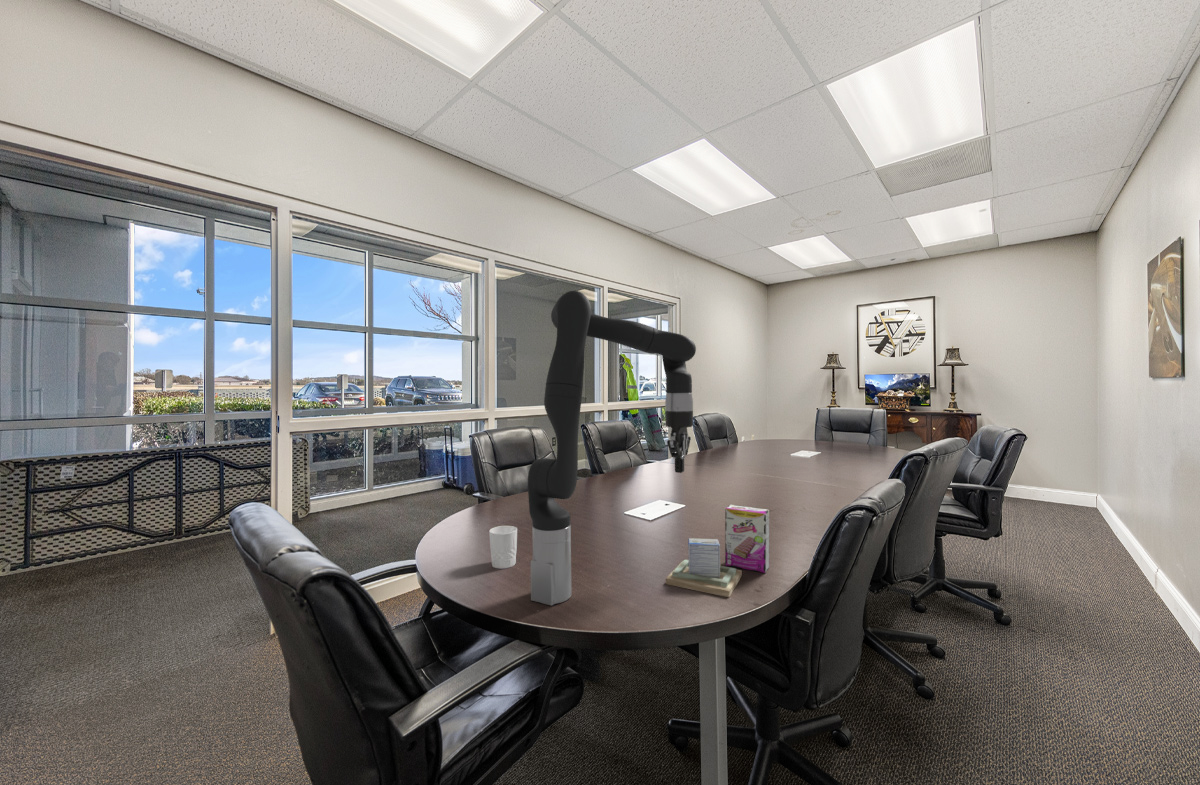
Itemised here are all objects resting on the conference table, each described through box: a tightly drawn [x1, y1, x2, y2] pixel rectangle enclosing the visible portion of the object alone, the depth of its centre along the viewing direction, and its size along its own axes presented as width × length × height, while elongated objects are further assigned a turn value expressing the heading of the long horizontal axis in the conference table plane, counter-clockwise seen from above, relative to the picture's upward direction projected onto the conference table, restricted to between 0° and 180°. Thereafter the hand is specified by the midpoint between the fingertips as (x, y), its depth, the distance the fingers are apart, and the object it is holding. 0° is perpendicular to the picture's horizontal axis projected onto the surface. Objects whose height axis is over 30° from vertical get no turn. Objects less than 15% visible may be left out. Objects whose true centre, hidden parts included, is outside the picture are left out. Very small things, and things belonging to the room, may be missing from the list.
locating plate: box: [665, 559, 743, 598], centre depth 119 cm, size 14×16×2 cm
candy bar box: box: [724, 504, 770, 574], centre depth 128 cm, size 11×5×16 cm, turn 59°
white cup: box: [488, 525, 518, 570], centre depth 132 cm, size 8×8×10 cm
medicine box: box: [687, 537, 721, 578], centre depth 119 cm, size 8×4×9 cm, turn 81°
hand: (679, 472), depth 126 cm, fingers closed
